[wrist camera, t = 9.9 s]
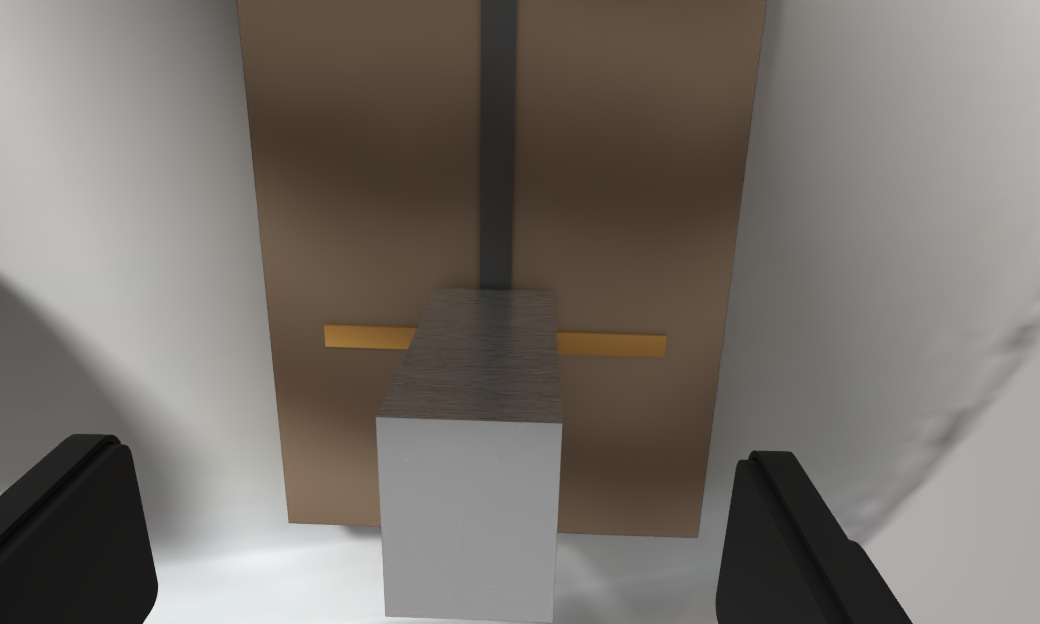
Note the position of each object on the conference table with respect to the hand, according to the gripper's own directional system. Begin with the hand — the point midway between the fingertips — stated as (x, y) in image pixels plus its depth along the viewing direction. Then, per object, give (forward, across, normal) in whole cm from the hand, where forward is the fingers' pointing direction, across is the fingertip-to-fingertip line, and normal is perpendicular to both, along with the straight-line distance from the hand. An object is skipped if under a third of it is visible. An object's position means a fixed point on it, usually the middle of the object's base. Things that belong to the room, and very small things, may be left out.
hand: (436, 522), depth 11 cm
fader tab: (+8, -1, +1) cm, 8 cm away
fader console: (+10, -1, -4) cm, 11 cm away
